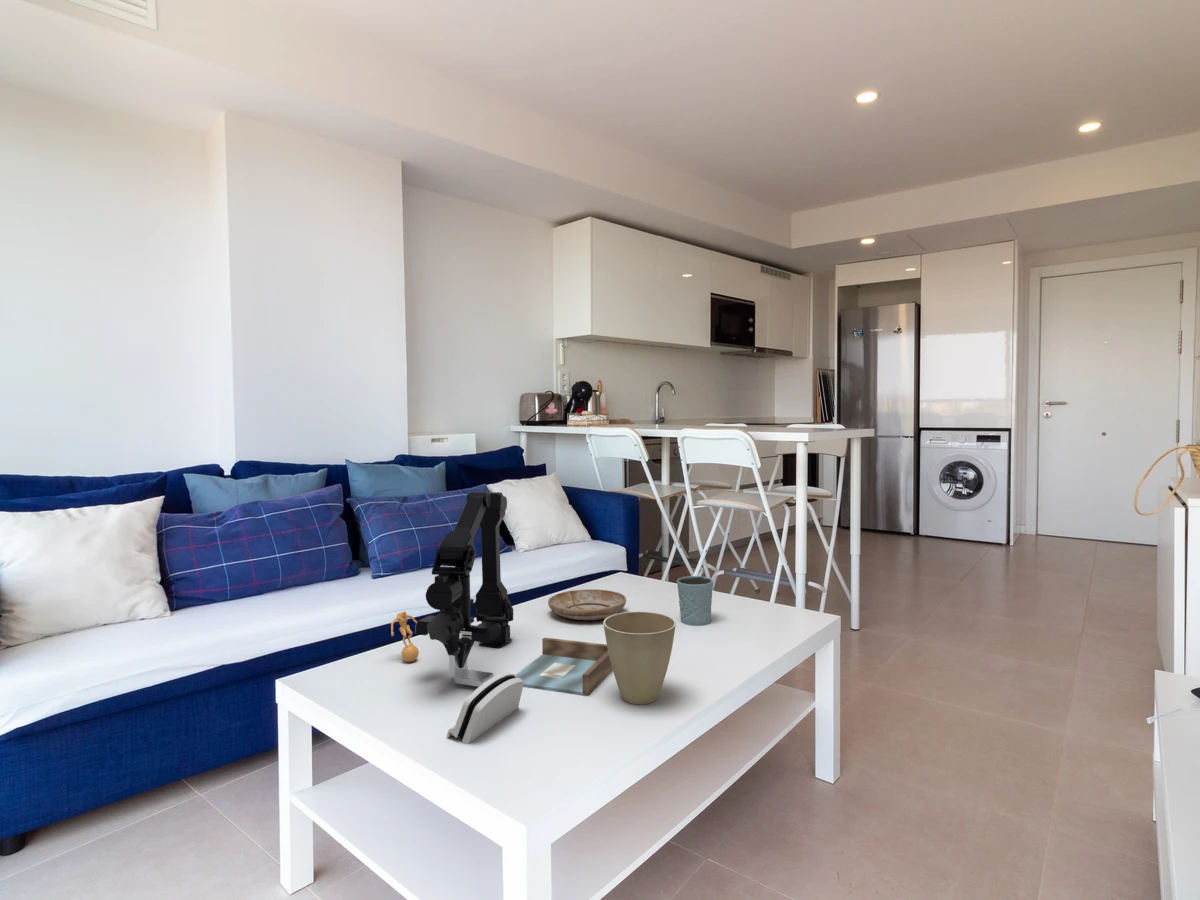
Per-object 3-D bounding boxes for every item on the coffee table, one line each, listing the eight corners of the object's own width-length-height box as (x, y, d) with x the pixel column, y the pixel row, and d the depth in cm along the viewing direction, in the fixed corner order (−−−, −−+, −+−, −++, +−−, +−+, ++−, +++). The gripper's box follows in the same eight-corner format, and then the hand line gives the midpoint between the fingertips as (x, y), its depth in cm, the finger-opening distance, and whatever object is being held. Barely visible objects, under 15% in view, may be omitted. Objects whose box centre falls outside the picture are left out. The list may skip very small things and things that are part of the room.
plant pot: (589, 699, 136) (588, 623, 136) (633, 678, 148) (632, 607, 147) (648, 720, 127) (647, 638, 126) (690, 695, 138) (689, 619, 138)
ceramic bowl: (599, 600, 214) (599, 584, 214) (641, 618, 194) (641, 601, 194) (535, 611, 202) (534, 595, 201) (572, 631, 182) (572, 614, 181)
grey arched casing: (498, 703, 135) (511, 660, 133) (516, 715, 133) (529, 671, 132) (444, 738, 120) (458, 691, 119) (464, 752, 118) (479, 704, 117)
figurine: (401, 668, 155) (400, 617, 155) (385, 663, 159) (384, 613, 158) (429, 657, 162) (428, 609, 162) (413, 653, 166) (411, 605, 165)
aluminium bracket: (449, 682, 144) (449, 655, 144) (462, 673, 149) (461, 647, 148) (481, 687, 141) (481, 659, 141) (493, 678, 146) (493, 651, 145)
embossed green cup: (718, 619, 191) (718, 578, 190) (704, 629, 182) (704, 585, 182) (686, 614, 196) (686, 574, 196) (671, 623, 188) (671, 581, 187)
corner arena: (506, 684, 145) (506, 664, 145) (544, 655, 163) (544, 637, 163) (588, 695, 138) (587, 675, 138) (618, 664, 156) (618, 645, 156)
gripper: (398, 602, 141) (400, 674, 142) (474, 610, 134) (475, 686, 135) (429, 590, 151) (431, 657, 152) (501, 597, 145) (502, 667, 145)
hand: (458, 667), depth 146 cm, fingers closed on aluminium bracket
